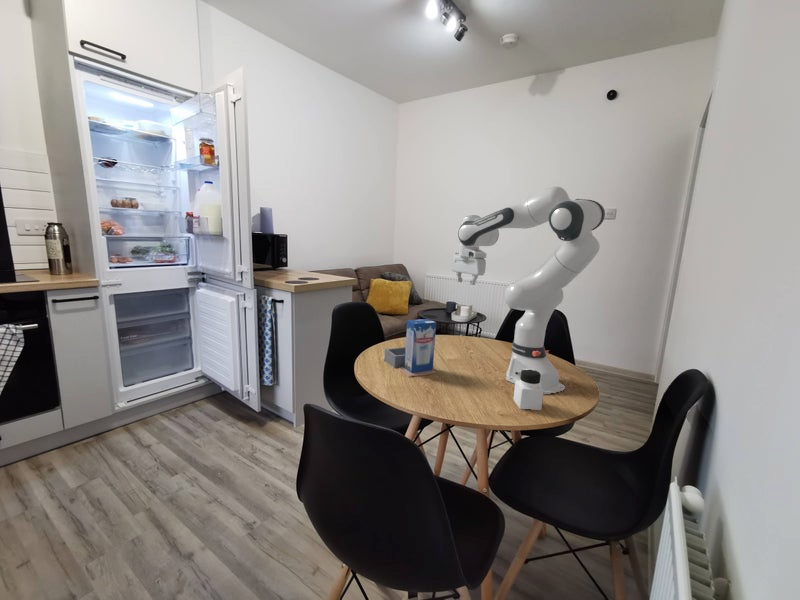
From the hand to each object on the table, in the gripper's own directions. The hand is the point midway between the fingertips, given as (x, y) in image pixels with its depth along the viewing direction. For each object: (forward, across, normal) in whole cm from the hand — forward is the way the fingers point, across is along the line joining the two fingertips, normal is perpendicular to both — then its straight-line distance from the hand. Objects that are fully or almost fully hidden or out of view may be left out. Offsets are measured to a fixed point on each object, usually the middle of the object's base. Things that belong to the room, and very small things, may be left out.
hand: (466, 283), depth 158 cm
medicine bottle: (+34, +50, -10) cm, 62 cm away
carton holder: (+34, 0, -30) cm, 45 cm away
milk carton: (+34, +11, -29) cm, 46 cm away
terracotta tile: (+34, +11, -30) cm, 47 cm away
